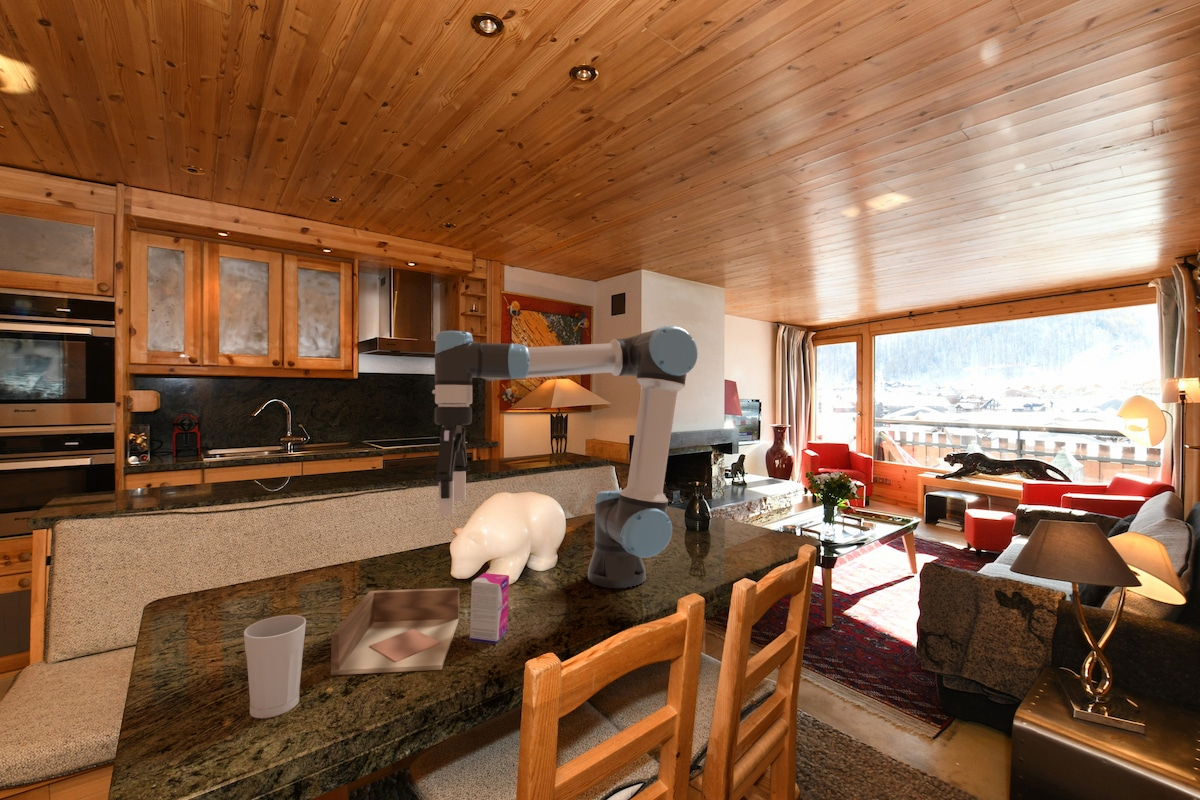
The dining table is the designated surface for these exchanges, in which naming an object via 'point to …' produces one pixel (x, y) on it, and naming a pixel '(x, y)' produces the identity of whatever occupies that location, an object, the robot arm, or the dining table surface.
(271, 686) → the cup
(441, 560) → the dining table surface
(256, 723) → the dining table surface
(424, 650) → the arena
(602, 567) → the robot arm
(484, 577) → the supplement box
